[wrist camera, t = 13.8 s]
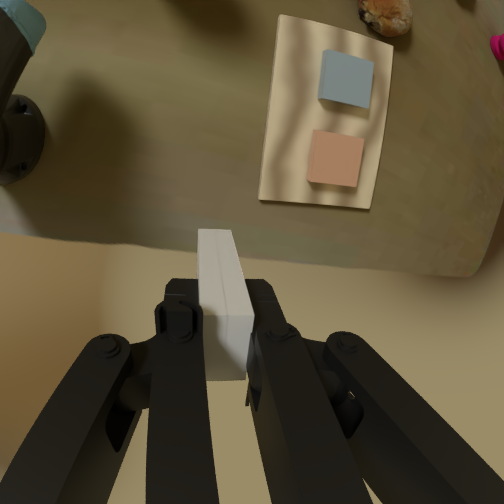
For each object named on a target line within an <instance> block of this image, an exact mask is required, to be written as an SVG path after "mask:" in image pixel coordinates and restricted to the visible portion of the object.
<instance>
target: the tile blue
mask: <svg viewBox="0 0 504 504" xmlns="http://www.w3.org/2000/svg"><path fill="white" fill-rule="evenodd" d="M373 67H374V62H371V61H368V60H365V59H362V58H358V57H355V56H352V55H348V54H345V53H341V52H337V51H333V50H329V49H327V50H324V51H323V53H322V63H321V72H320V80H319V89H318V97H317V98H318V99H323V100H328V101H333V102H337V103H342V104H346V105H351V106H355V107H359V108H364V109H369V103H370V95H371V86H372V77H373Z"/></svg>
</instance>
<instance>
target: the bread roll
mask: <svg viewBox="0 0 504 504" xmlns="http://www.w3.org/2000/svg"><path fill="white" fill-rule="evenodd" d="M358 6H359V15H360V16H361V17H362V19H363V20H364V21H365V22H366V24H367V25H369V26H370V27H371V28H372V29H373V30H374V31H376V32H378V33H380V34H381V35H383V36H386V37H395V36H401V35H404V34H406V33H407V31H408V30H409V28H410V27H411V25H412V20H413V9H412V6H411V4H410V2H409V0H359V1H358Z"/></svg>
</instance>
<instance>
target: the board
mask: <svg viewBox="0 0 504 504" xmlns="http://www.w3.org/2000/svg"><path fill="white" fill-rule="evenodd" d="M327 49H329V50H333V51H337V52H341V53H345V54H348V55H352V56H355V57H358V58H362V59H365V60H368V61H371V62H374V67H373V77H372V86H371V95H370V103H369V109H364V108H359V107H355V106H351V105H346V104H342V103H337V102H333V101H328V100H323V99H318V98H317V97H318V89H319V80H320V72H321V63H322V53H323V51H324V50H327ZM392 57H393V46H391V45H389V44H386V43H383V42H381V41H378V40H375V39H372V38H369V37H366V36H363V35H360V34H357V33H354V32H351V31H348V30H344V29H341V28H337V27H334V26H330V25H326V24H322V23H318V22H314V21H310V20H306V19H301V18H296V17H292V16H287V15H281V14H280V15H279V17H278V26H277V34H276V43H275V51H274V60H273V69H272V77H271V86H270V94H269V103H268V112H267V120H266V129H265V137H264V146H263V155H262V163H261V172H260V180H259V189H258V199H259V200H274V201H288V202H301V203H313V204H325V205H335V206H346V207H356V208H365V209H370V205H371V200H372V195H373V190H374V185H375V180H376V175H377V170H378V164H379V159H380V153H381V147H382V141H383V134H384V127H385V121H386V113H387V106H388V98H389V89H390V79H391V69H392ZM313 129H314V130H321V131H326V132H332V133H338V134H343V135H348V136H353V137H358V138H363V139H364V145H363V151H362V157H361V163H360V169H359V174H358V180H357V185H356V187H351V186H343V185H335V184H327V183H318V182H310V181H309V180H307V179H306V177H307V171H308V164H309V157H310V150H311V143H312V136H313Z"/></svg>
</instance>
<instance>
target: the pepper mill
mask: <svg viewBox="0 0 504 504" xmlns="http://www.w3.org/2000/svg"><path fill="white" fill-rule="evenodd" d="M490 43H491V49H492V51H493V54H494V55H495V57H496V58H497V59H499V60H504V34H502V35H501V36H492V38H491V42H490Z"/></svg>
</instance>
